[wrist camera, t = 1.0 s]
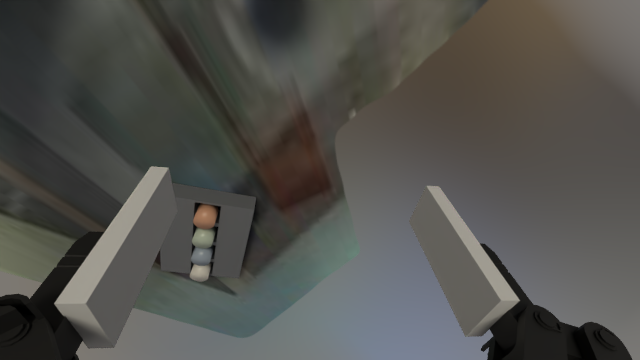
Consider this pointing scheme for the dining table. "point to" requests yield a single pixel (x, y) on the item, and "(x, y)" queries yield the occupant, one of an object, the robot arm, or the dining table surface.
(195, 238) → the button sage
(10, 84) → the dining table surface
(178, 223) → the console
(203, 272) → the button ivory
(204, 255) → the button slate
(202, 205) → the button terracotta
